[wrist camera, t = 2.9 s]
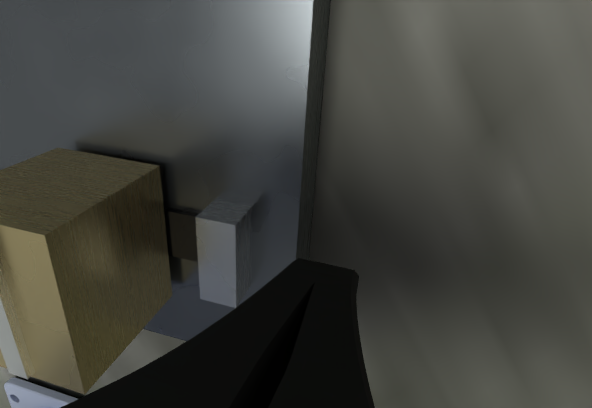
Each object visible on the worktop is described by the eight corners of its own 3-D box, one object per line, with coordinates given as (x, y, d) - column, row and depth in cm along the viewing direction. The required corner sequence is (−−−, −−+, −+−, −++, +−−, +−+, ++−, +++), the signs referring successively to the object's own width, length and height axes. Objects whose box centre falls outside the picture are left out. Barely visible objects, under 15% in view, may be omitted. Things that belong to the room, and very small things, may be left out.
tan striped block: (172, 295, 12) (77, 402, 9) (84, 272, 13) (-33, 364, 10) (159, 165, 10) (34, 240, 7) (57, 147, 11) (-97, 208, 8)
